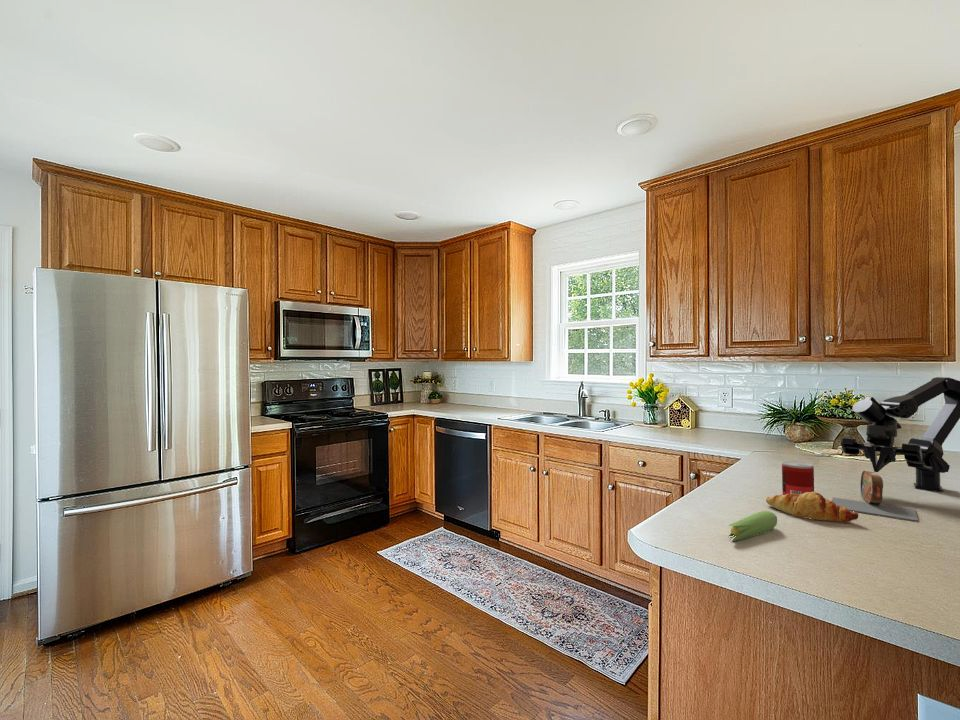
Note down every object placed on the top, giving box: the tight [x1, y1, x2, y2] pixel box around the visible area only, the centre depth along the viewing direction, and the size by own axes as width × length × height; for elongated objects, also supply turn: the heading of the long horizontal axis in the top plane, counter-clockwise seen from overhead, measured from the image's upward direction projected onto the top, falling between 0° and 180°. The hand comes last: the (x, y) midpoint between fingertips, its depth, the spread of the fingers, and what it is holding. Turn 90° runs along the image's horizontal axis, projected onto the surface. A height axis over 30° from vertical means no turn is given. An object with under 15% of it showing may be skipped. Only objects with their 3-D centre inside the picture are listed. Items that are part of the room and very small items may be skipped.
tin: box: [860, 470, 884, 504], centre depth 133 cm, size 15×3×8 cm, turn 149°
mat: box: [831, 496, 919, 523], centre depth 127 cm, size 12×18×1 cm, turn 49°
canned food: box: [781, 460, 815, 495], centre depth 137 cm, size 8×8×11 cm
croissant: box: [765, 491, 859, 523], centre depth 123 cm, size 21×10×8 cm, turn 40°
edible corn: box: [728, 510, 778, 542], centre depth 110 cm, size 5×20×5 cm
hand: (875, 471), depth 137 cm, fingers closed
